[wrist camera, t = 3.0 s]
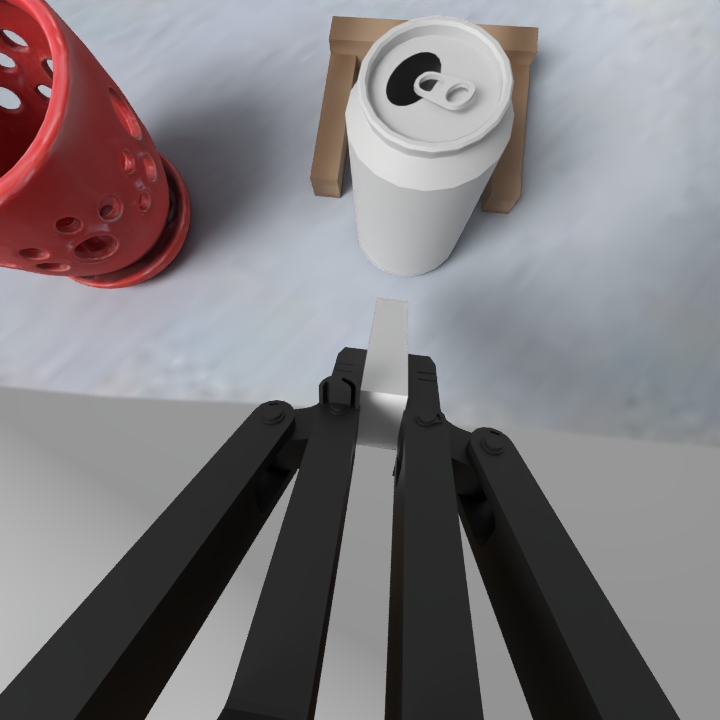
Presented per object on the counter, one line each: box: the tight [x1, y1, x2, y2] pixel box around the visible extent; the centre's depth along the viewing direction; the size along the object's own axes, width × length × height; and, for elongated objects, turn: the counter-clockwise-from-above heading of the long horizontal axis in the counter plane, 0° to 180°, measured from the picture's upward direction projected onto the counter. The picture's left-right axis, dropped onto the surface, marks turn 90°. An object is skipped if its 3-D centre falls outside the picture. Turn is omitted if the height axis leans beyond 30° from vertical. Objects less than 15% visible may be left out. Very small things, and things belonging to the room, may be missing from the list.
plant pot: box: [0, 0, 191, 289], centre depth 20 cm, size 13×13×12 cm
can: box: [345, 15, 514, 277], centre depth 18 cm, size 8×8×12 cm
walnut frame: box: [310, 16, 538, 213], centre depth 24 cm, size 15×12×3 cm
